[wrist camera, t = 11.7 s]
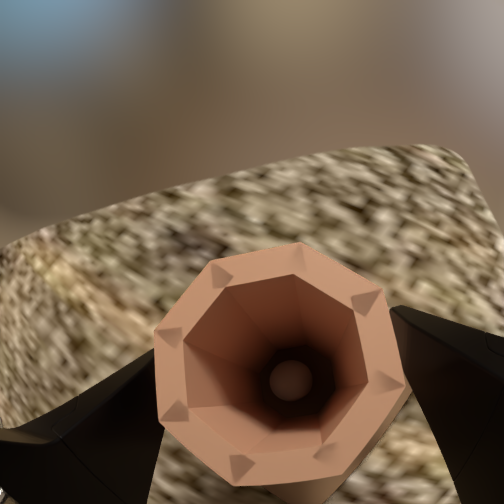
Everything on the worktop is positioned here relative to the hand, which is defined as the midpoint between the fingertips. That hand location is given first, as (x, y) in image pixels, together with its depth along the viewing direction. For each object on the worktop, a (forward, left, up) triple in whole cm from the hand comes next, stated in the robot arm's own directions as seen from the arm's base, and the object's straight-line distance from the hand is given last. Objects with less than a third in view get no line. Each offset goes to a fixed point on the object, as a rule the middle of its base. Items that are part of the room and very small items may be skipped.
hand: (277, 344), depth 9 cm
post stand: (-1, -1, -9) cm, 9 cm away
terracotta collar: (0, -1, -7) cm, 8 cm away
